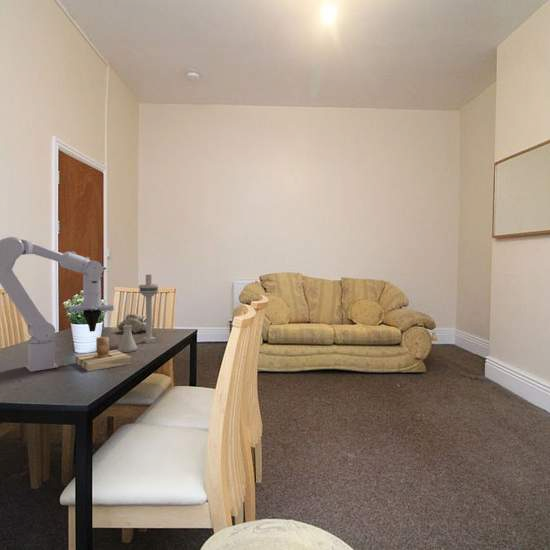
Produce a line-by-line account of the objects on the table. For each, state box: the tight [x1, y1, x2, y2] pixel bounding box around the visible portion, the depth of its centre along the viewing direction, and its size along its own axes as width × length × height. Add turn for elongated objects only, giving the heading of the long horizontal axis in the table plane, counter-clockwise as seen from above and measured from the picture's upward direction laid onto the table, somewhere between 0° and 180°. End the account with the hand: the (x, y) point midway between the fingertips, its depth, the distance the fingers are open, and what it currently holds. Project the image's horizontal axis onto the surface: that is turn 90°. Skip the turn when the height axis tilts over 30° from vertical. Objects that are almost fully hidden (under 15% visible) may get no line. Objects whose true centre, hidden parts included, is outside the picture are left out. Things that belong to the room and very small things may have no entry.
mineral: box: [117, 313, 154, 333], centre depth 194 cm, size 12×17×10 cm
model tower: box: [138, 274, 160, 344], centre depth 169 cm, size 8×8×30 cm
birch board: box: [75, 349, 132, 372], centre depth 132 cm, size 14×14×2 cm
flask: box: [117, 325, 138, 353], centre depth 151 cm, size 7×7×10 cm
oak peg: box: [95, 336, 110, 359], centre depth 131 cm, size 4×4×9 cm
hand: (92, 331), depth 137 cm, fingers closed
